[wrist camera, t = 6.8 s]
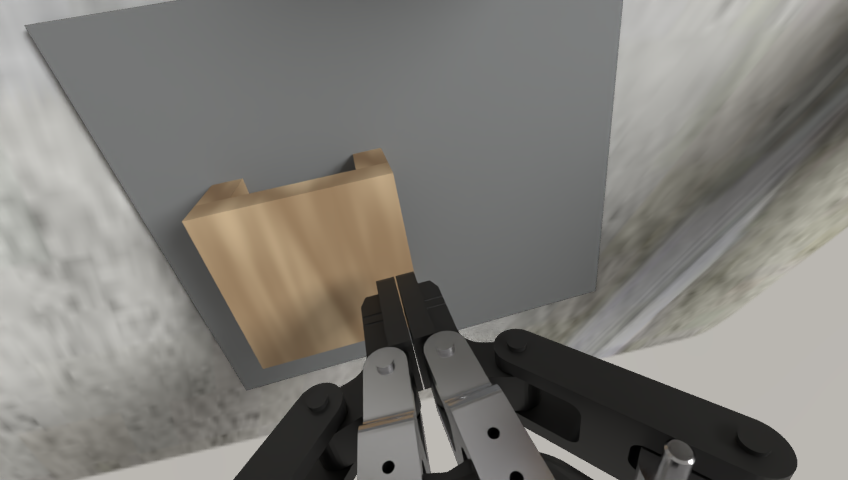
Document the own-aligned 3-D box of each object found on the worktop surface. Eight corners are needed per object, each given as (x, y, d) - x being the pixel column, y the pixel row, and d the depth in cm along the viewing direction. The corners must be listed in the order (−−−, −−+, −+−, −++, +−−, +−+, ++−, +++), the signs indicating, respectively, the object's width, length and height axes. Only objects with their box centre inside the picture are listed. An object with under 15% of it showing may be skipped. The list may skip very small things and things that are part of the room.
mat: (623, -72, 16) (629, -74, 16) (592, 287, 26) (595, 290, 26) (32, 25, 14) (24, 25, 13) (247, 385, 23) (246, 390, 23)
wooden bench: (393, 173, 15) (181, 221, 14) (424, 323, 19) (263, 368, 18) (380, 147, 18) (211, 185, 17) (410, 279, 22) (273, 315, 21)
